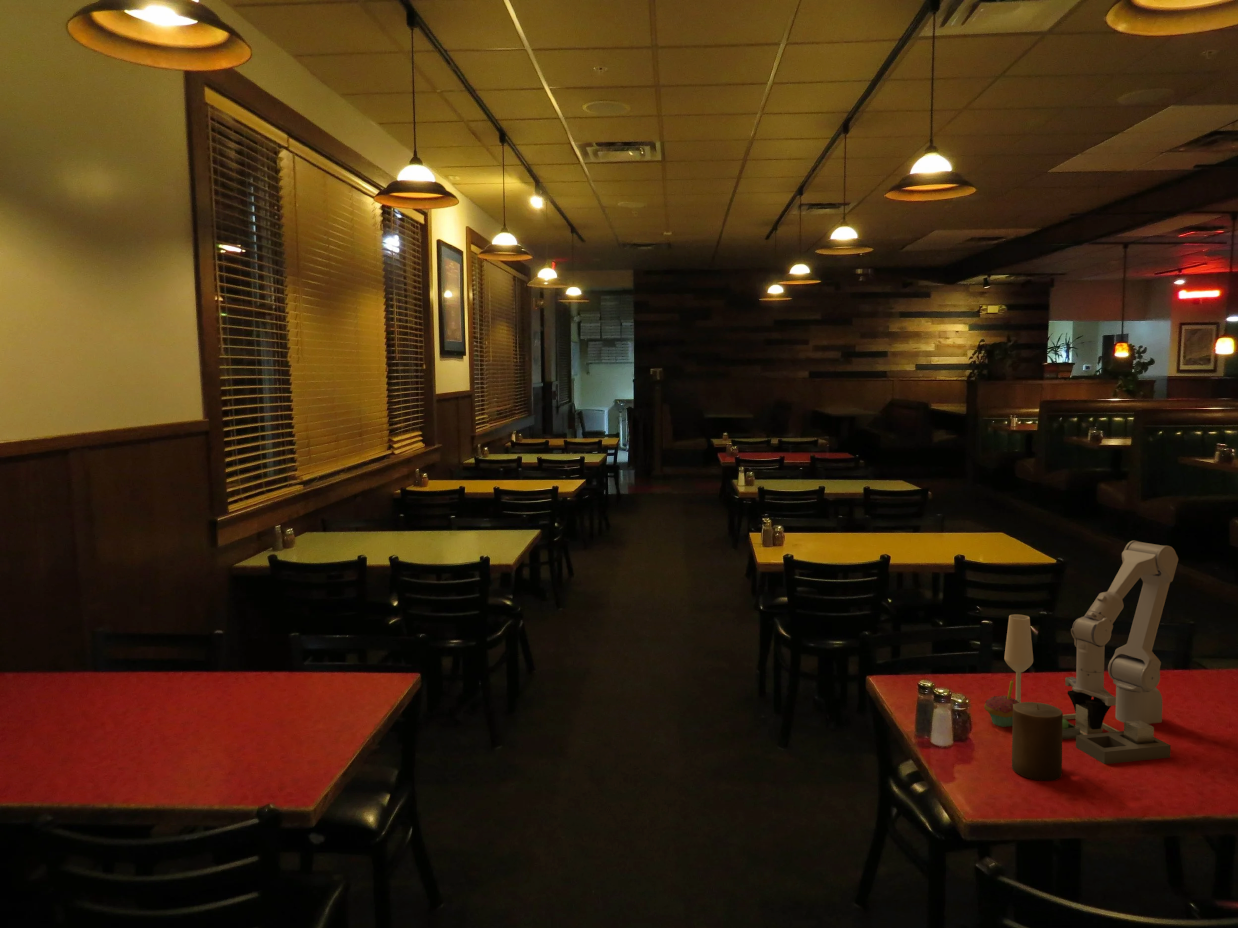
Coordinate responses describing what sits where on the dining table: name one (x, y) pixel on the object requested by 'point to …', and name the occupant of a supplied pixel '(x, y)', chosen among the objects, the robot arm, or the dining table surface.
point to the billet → (1085, 719)
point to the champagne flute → (1019, 647)
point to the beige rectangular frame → (1073, 716)
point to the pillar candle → (1037, 741)
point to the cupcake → (1001, 708)
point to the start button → (1065, 724)
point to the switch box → (1070, 731)
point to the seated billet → (1138, 732)
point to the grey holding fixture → (1120, 748)
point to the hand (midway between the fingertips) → (1089, 724)
